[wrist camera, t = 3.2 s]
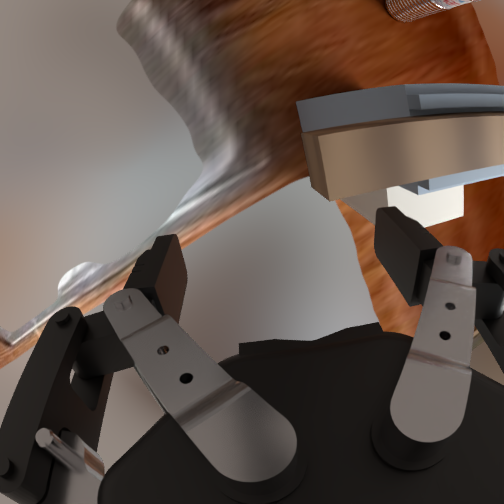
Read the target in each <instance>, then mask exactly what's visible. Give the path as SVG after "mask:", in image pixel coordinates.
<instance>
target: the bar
mask: <svg viewBox="0 0 504 504" xmlns="http://www.w3.org/2000/svg"><path fill="white" fill-rule="evenodd" d="M301 137H302V141H303V146H304V151H305V156H306V161H307V166H308V171H309V176H310V182H311V187H312V188H313V189H315V190H316V191H317V192H318V193H320V194H321V195H322V196H323V197H325V198H326V199H327V200H329V201H334V200H338V199H342V198H346V197H351V196H355V195H359V194H364V193H368V192H372V191H377V190H381V189H386V188H390V187H395V186H399V185H404V184H408V183H413V182H418V181H422V180H427V179H432V178H437V177H441V176H446V175H451V174H456V173H461V172H466V171H471V170H476V169H481V168H486V167H491V166H497V165H502V164H504V111H484V112H459V113H443V114H430V115H419V116H409V117H399V118H391V119H383V120H375V121H368V122H361V123H354V124H348V125H342V126H336V127H330V128H324V129H319V130H313V131H308V132H303V133H301Z"/></svg>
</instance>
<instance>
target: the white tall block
mask: <svg viewBox="0 0 504 504" xmlns="http://www.w3.org/2000/svg"><path fill="white" fill-rule="evenodd" d="M340 200H342V201H343V202H345V203H346V204H347V205H349V206H350V207H351V208H353V209H354V210H355V211H357V212H358V213H360V214H361V215H362V216H364V217H365V218H366V219H368V220H369V221H370V222H371V223H373V224H374V225H375V218H376V210H377V208H381V207H390V206H396V207H397V208H398V209H399V210H400V211H401V212H402V213H403V214H404V215H406V216H408V217H410V218H412V219H414V220H416V221H418V222H419V223H420V224H421V225H422V226H423V227H427V226H431V225H434V224H438V223H441V222H444V221H448V220H451V219H454V218H458V217H461V216H463V202H464V196H463V185H460V186H456V187H452V188H448V189H443V190H439V191H435V192H431V193H426V194H422V195H417V194H415V193H412V192H410V191H408V190H406V189H404V188H402V187H400V186H395V187H390V188H386V189H381V190H377V191H372V192H368V193H364V194H359V195H355V196H351V197H346V198H342V199H340Z"/></svg>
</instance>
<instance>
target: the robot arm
mask: <svg viewBox="0 0 504 504" xmlns="http://www.w3.org/2000/svg"><path fill="white" fill-rule="evenodd" d="M374 249H375V253H376V256H377V258H378V259H379V261H380V262H381V264H382V265H383V266H384V268H385V269H386V271H387V272H388V274H389V275H390V277H391V278H392V280H393V281H394V283H395V284H396V286H397V288H398V289H399V291H400V292H401V294H402V295H403V297H404V298H405V300H406V302H407V303H408V305H409V306H415V305H419V304H422V306H423V308H422V312H421V316H420V319H419V322H418V326H417V329H416V332H415V336H414V338H413V337H411V336H408V335H404V334H401V333H395V332H383V330H382V328H381V326H380V324H379V322H376V323H371V324H366V325H361V326H355V327H350V328H346V329H343V330H340V331H338V332H335V333H333V334H330V335H328V336H325V337H322V338H320V339H317V340H313V341H300V340H279V339H273V340H264V341H256V342H247V343H239V354H237V355H234V356H231V357H229V358H227V359H225V360H223V361H221V362H219V363H216V362H215V361H214V360H213V359H212V358H211V357H210V356H209V355H208V354H207V353H206V352H205V351H204V350H203V349H202V348H201V347H200V346H199V345H198V344H197V343H196V342H195V341H194V340H193V339H192V338H191V337H190V336H189V335H188V334H187V333H186V332H185V331H184V330H183V329H182V328H181V327H180V326H179V325H178V324H179V319H180V313H181V309H182V305H183V300H184V295H185V291H186V286H187V270H186V266H185V262H184V258H183V255H182V251H181V247H180V243H179V240H178V237H177V235H176V234H170V235H164V236H158V237H157V238H156V240H155V242H154V244H153V246H152V248H151V250H146V251H145V252H144V253H143V254H142V255H141V256H140V257H138V259H137V261H136V264H135V267H134V268H133V270H132V273H131V274H130V276H129V278H128V280H127V282H126V284H125V286H124V288H123V290H120V291H118V292H115V293H114V294H112V295H111V296H110V297H108V299H107V300H106V301H105V303H104V305H103V311H101V312H98V313H95V314H92V315H88V316H85V317H84V316H83V314H82V312H81V310H80V309H79V308H77V307H66V308H64V309H61V310H59V311H58V312H56V313H55V314H54V315H53V316H52V317H51V318H50V319H49V321H48V323H47V324H46V326H45V328H44V330H43V332H42V334H41V336H40V338H39V340H38V342H37V344H36V346H35V348H34V350H33V352H32V354H31V356H30V358H29V361H28V362H27V364H26V367H25V369H24V371H23V373H22V375H21V378H20V380H19V382H18V384H17V387H16V389H15V392H14V394H13V397H12V399H11V401H10V404H9V406H8V409H7V412H6V414H5V417H4V419H3V422H2V425H1V428H0V492H1V493H2V494H4V495H5V496H7V497H9V498H10V499H12V500H14V501H15V502H17V503H19V504H504V385H502V384H500V383H498V382H496V381H494V380H493V379H490V378H489V377H487V376H485V375H483V374H481V373H479V372H477V371H476V370H474V369H472V368H470V359H471V351H472V343H473V333H474V325H475V326H476V328H477V329H478V331H479V332H480V334H481V336H482V337H483V339H484V341H485V342H486V344H487V345H488V347H489V349H490V351H491V352H492V354H493V356H494V357H495V359H496V361H497V363H498V364H499V366H500V368H501V370H502V372H503V373H504V249H493V250H491V251H490V253H489V256H488V260H487V262H484V261H472V257H471V255H470V254H469V253H468V252H466V251H465V250H463V249H461V248H458V247H454V246H443V245H442V244H441V243H440V242H439V241H438V240H437V239H436V238H435V237H434V236H433V235H432V234H431V233H430V234H429V232H428V231H427V230H426V229H425V228H424V227H423V226H422V225H421V224H420V223H419V222H418V221H416V220H414V219H412V218H410V217H408V216H406V215H404V214H403V213H402V212H401V211H400V210H399V209H398V208H397V207H396V206H390V207H381V208H377V210H376V218H375V236H374ZM131 367H134V368H135V370H136V371H137V373H138V375H139V376H140V378H141V379H142V381H143V382H144V384H145V385H146V387H147V388H148V390H149V391H150V393H151V394H152V396H153V397H154V398H155V400H156V402H157V403H158V405H159V406H160V408H161V409H162V411H163V412H164V416H162V418H160V419H159V421H157V422H156V424H154V426H152V427H151V428H150V430H148V431H147V432H146V433H145V434H144V435H143V436H142V437H141V438H140V439H139V440H138V441H137V442H136V443H135V444H134V445H133V446H132V447H131V448H130V449H129V450H128V451H127V452H126V453H125V454H124V455H123V456H122V457H121V458H120V459H119V460H118V461H116V463H114V464H113V465H112V466H111V468H110V469H109V470H108V471H107V472H106V474H104V463H103V460H102V458H101V457H100V456H99V454H97V447H98V442H99V437H100V431H101V427H102V422H103V417H104V412H105V408H106V403H107V399H108V394H109V390H110V386H111V381H112V377H113V373H114V372H117V371H120V370H124V369H127V368H131ZM71 369H73V370H74V371H75V373H74V376H73V379H72V382H71V384H70V373H71Z"/></svg>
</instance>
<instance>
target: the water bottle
mask: <svg viewBox="0 0 504 504" xmlns="http://www.w3.org/2000/svg"><path fill="white" fill-rule="evenodd" d="M473 1H474V2H476V1H480V0H385V6H386V9H387V11H388V13H389V14H390V15H391V16H392V17H393V18H394V19H396V20H397V21H400V22H403V23H409V22H413V21H416V20H418V19H421V18H424V17H427V16H430V15H433V14H436V13H439V12H442V11H445V10H448V9H451V8H452V7H455V6H459V5H462V4H466V3H469V2H473Z"/></svg>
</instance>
